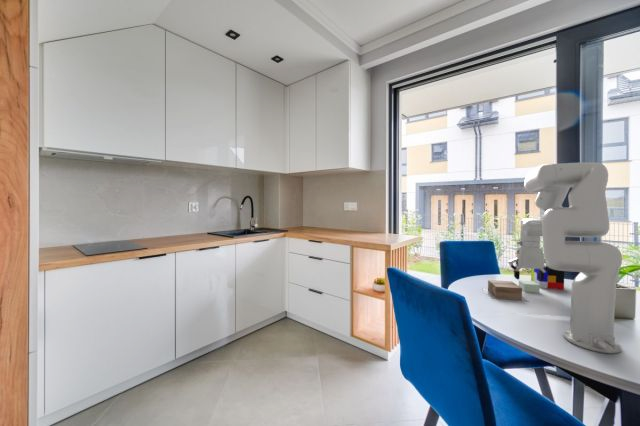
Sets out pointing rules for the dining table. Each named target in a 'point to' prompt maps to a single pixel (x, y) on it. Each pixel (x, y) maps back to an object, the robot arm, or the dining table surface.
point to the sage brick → (529, 286)
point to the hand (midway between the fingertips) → (528, 279)
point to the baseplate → (504, 298)
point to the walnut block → (504, 289)
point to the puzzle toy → (549, 279)
